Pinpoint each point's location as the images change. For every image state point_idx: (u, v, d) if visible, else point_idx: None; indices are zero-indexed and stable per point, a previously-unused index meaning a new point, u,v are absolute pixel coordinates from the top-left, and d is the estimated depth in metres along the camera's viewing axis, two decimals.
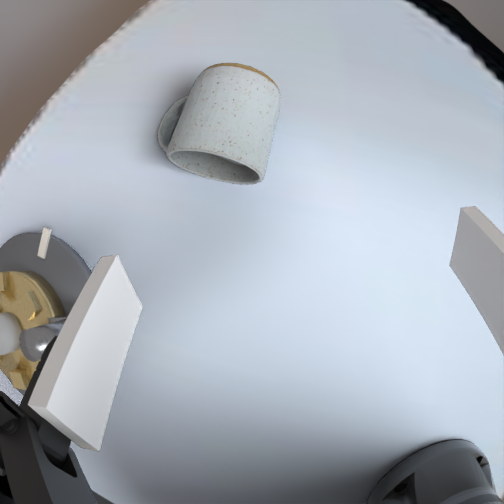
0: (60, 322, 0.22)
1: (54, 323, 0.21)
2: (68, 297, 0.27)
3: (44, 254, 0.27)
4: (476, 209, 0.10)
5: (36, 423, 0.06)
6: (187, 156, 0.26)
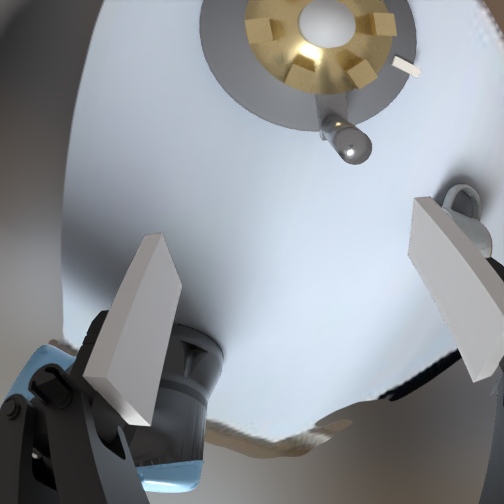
0: None
1: None
2: (353, 92, 0.26)
3: (395, 66, 0.24)
4: (430, 199, 0.11)
5: (89, 397, 0.07)
6: None
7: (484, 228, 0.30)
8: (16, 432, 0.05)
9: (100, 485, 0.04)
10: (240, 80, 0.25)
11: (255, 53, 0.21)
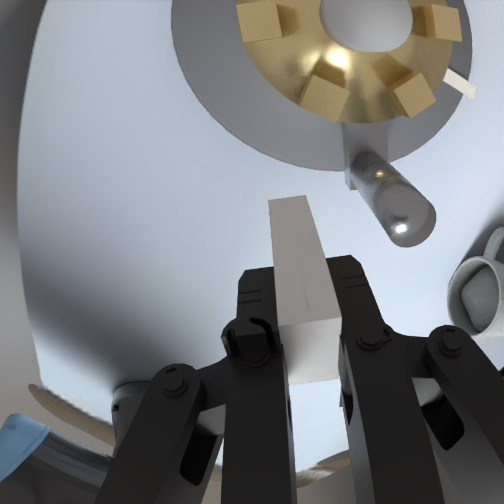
0: None
1: None
2: None
3: (447, 82, 0.16)
4: (303, 198, 0.12)
5: None
6: None
7: None
8: (175, 415, 0.06)
9: (287, 466, 0.05)
10: (231, 97, 0.18)
11: (253, 57, 0.14)
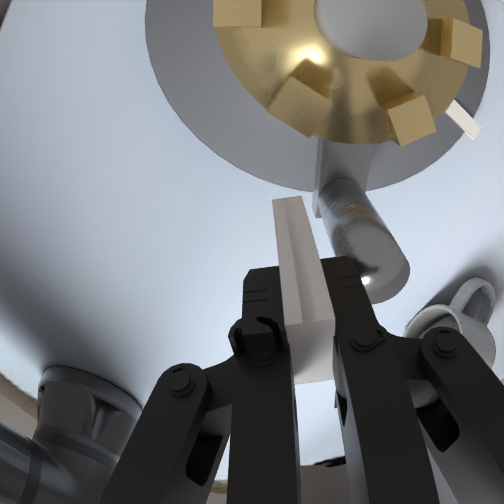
0: None
1: None
2: None
3: (449, 115, 0.15)
4: (299, 198, 0.12)
5: None
6: None
7: (491, 338, 0.23)
8: (181, 415, 0.06)
9: (293, 466, 0.05)
10: (194, 86, 0.15)
11: (224, 46, 0.11)
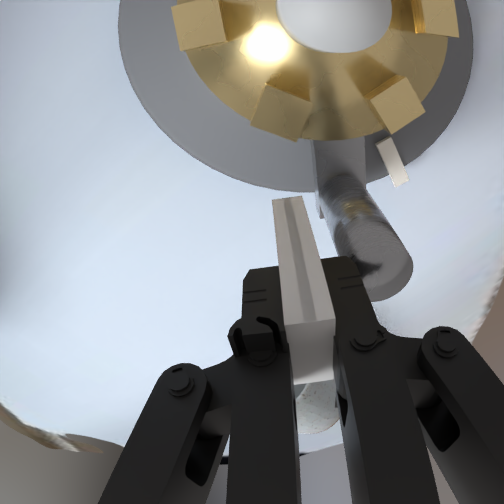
0: None
1: None
2: (288, 140, 0.17)
3: (379, 150, 0.16)
4: (299, 198, 0.12)
5: None
6: None
7: None
8: (181, 415, 0.06)
9: (293, 466, 0.05)
10: (146, 19, 0.12)
11: (197, 67, 0.12)
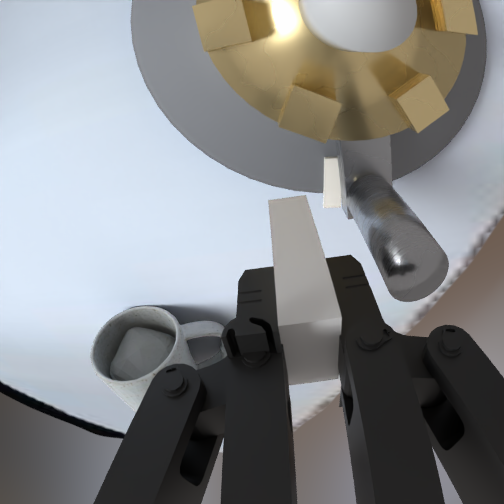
0: None
1: None
2: (243, 113, 0.15)
3: (324, 165, 0.17)
4: (303, 198, 0.12)
5: None
6: None
7: None
8: (175, 415, 0.06)
9: (287, 466, 0.05)
10: None
11: (220, 68, 0.11)
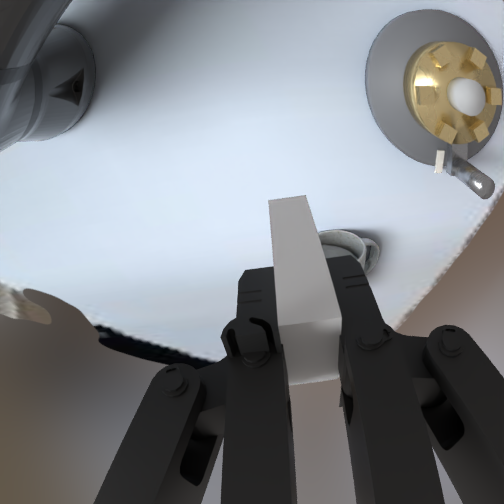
0: None
1: None
2: (410, 127, 0.32)
3: (437, 153, 0.33)
4: (303, 198, 0.12)
5: None
6: (355, 243, 0.40)
7: None
8: (175, 415, 0.06)
9: (287, 466, 0.05)
10: (395, 41, 0.26)
11: (419, 111, 0.28)
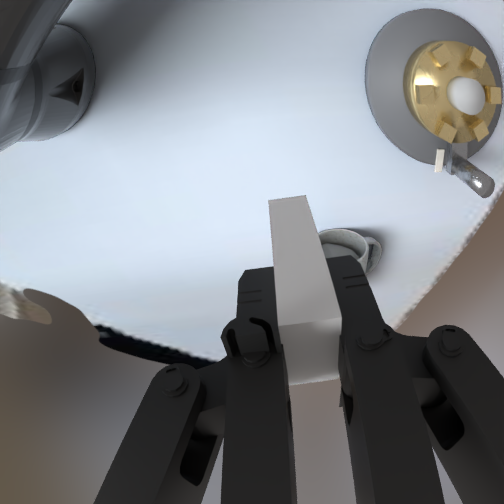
0: None
1: None
2: (410, 126, 0.32)
3: (437, 152, 0.33)
4: (303, 198, 0.12)
5: None
6: (358, 241, 0.40)
7: None
8: (175, 415, 0.06)
9: (287, 466, 0.05)
10: (395, 40, 0.26)
11: (419, 110, 0.28)
